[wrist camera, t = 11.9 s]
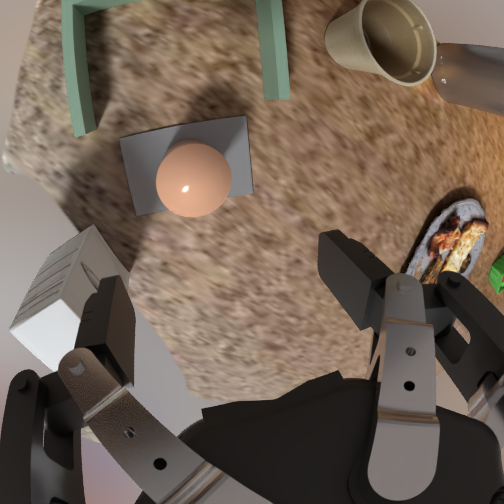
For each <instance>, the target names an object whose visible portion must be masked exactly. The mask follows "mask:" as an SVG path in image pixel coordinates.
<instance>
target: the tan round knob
mask: <svg viewBox="0 0 504 504" xmlns="http://www.w3.org/2000/svg"><path fill="white" fill-rule="evenodd" d="M231 183H232V175H231V170H230V167H229V164H228V162H227V161H226V159H225V158H224V157H223V155H222V154H221V153H220V152H218V151H217V150H216V149H214V148H213V147H211V146H208V145H207V144H205V143H204V142H202V141H200V140H197V139H183V140H180V141H178V142H176V143H174V144H173V145H171V146H170V147H169V148H168V150H167V151H166V152H165V154H164V156H163V159H162V162H161V164H160V166H159V168H158V171H157V177H156V188H157V192H158V195H159V198H160V199H161V201H162V203H163V204H164V205H165V206H166V207H167V208H168V209H169V210H171V211H172V212H174V213H176V214H178V215H181V216H185V217H199V216H203V215H206V214H209V213H211V212H213V211H214V210H216V209H217V208H218V207H219V206H220V205H221V204H222V203H223V202H224V201H225V199H226V198H227V196H228V194H229V191H230V188H231Z"/></svg>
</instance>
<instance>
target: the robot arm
mask: <svg viewBox="0 0 504 504" xmlns="http://www.w3.org/2000/svg"><path fill="white" fill-rule="evenodd" d="M436 49H437V50H436V51H437V54H436V62H435V66H434V69H433V71H432V77H433V81H434V84H435V87H436V89H437V91H438V93H439V94H440V95H441V97H442V98H443V99H444V100H446V101H447V102H449V103H454V104H458V105H462V106H467V107H470V108H474V109H478V110H481V111H485V112H489V113H492V114H495V115H499V116H502V117H504V48H498V47H490V46H481V45H469V44H453V43H442V44H439V45H438V46H437V47H436ZM318 272H319V275H320V277H321V279H322V280H323V282H324V283H325V284H326V285H327V287H328V288H329V289H330V291H331V292H332V293H333V295H334V296H335V297H336V299H337V300H338V301H339V303H340V304H341V305H342V307H343V308H344V309H345V311H346V312H347V313H348V315H349V316H350V317H351V319H352V320H353V321H354V323H355V324H356V325H357V327H358V328H359V329H360V331H361V330H364V329H366V328H369V327H372V329H373V333H372V338H371V346H370V353H369V359H368V366H367V372H366V376H365V379H361V378H345V379H343V377H342V376H341V374H340V372H339V370H337V371H335V372H332V373H329V374H326V375H324V376H321V377H318V378H315V379H312V380H309V381H307V382H305V383H303V384H302V385H300V386H298V387H297V388H295V389H293V390H292V391H290V392H288V393H286V394H285V395H283V396H281V397H279V398H277V399H274V400H260V401H236V402H231V403H227V404H223V405H218V406H213V407H208V408H204V409H201V410H202V415H203V419H201V420H199V421H197V422H195V423H193V424H192V425H190V426H189V427H187V428H186V429H185V430H184V431H182V432H181V433H180V434H179V435H178V436H177V437H176V436H175V435H174V434H172V433H171V432H170V431H169V430H168V429H167V428H166V427H164V425H162V424H161V423H160V422H159V421H158V420H157V419H156V418H155V417H154V416H152V414H151V413H150V412H149V411H148V410H146V409H145V408H144V407H143V406H142V405H141V404H140V403H139V402H138V401H137V400H136V399H135V398H134V397H133V396H132V395H131V394H130V392H129V391H128V390H127V389H126V388H130V387H134V346H135V343H134V342H135V323H136V318H135V312H134V308H133V305H132V302H131V300H130V298H129V295H128V293H127V290H126V288H125V285H124V283H123V280H122V278H121V276H120V275H115V276H110V277H105V278H102V279H101V280H100V283H99V287H98V291H97V293H92V294H91V295H90V297H89V298H88V300H87V301H86V302H85V305H84V308H83V312H82V313H83V314H82V316H81V320H80V321H81V322H80V324H79V328H78V332H77V336H76V341H75V345H74V349H73V350H71V351H69V352H68V353H67V354H65V355H64V356H63V358H62V359H61V361H60V362H59V365H58V370H57V371H55V372H53V373H51V374H48V375H46V376H44V377H41V378H40V377H39V376H38V375H37V373H36V372H35V371H33V370H30V369H28V370H23V371H21V372H19V373H18V374H17V375H16V376H15V377H14V378H13V379H12V381H11V383H10V386H9V391H8V395H7V400H6V405H5V411H4V417H3V423H2V431H1V438H0V504H85V496H84V487H83V475H82V459H81V428H83V427H86V426H89V427H90V429H91V430H92V431H93V433H94V434H95V435H96V437H97V438H98V439H99V441H100V442H101V443H102V445H103V446H104V447H105V448H106V450H107V451H108V452H109V453H110V454H111V456H112V457H113V458H114V459H115V460H116V461H117V463H118V464H119V465H120V466H121V467H122V468H123V470H124V471H125V472H126V473H127V474H128V475H129V476H130V477H131V478H132V479H133V480H134V481H135V483H136V484H137V485H138V486H139V487H140V488H141V489H142V490H143V491H142V492H141V494H140V496H139V497H138V499H137V500H136V502H135V504H504V473H503V469H502V461H501V450H500V449H501V448H502V447H503V446H504V316H503V314H501V312H500V311H499V310H498V309H497V308H496V307H495V306H494V305H493V304H492V303H491V302H490V301H489V300H488V299H487V298H486V297H485V296H484V295H483V294H482V293H481V292H480V291H479V290H478V289H477V288H476V287H475V286H474V285H472V284H471V283H470V282H469V281H468V280H467V279H466V278H465V277H464V276H463V275H461V274H459V273H457V272H454V271H443V272H441V273H440V274H439V275H438V278H437V281H436V283H430V284H421V283H420V282H419V281H418V280H417V279H416V278H415V277H413V276H411V275H408V274H403V273H396V274H395V273H394V272H393V271H391V270H390V269H389V268H388V267H387V266H386V265H385V264H384V263H383V262H382V261H381V260H380V259H379V258H377V257H375V255H374V254H373V253H372V252H371V251H369V249H368V248H366V247H365V246H364V245H363V244H362V243H360V242H358V241H356V240H354V239H351V238H350V239H349V238H348V237H346V236H345V235H344V234H343V233H342V232H341V231H340V230H338V229H336V230H331V231H326V232H322V233H320V235H319V243H318ZM456 318H458V319H459V320H460V321H461V323H462V324H463V325H464V326H465V327H466V328H467V329H468V331H469V333H470V336H471V339H470V343H469V345H468V343H467V342H466V341H465V340H464V338H463V337H462V336H461V335H460V334H459V333H458V331H457V330H456V329H455V328H454V327H453V325H454V322H455V320H456ZM435 357H436V358H437V360H438V361H439V363H440V364H441V365H442V367H443V368H444V369H445V371H446V372H447V374H448V375H449V376H450V378H451V379H452V381H453V382H454V384H455V385H456V387H457V388H458V389H459V391H460V392H461V394H462V395H463V397H464V398H465V400H466V401H467V403H468V411H469V414H468V415H467V416H465V415H462V414H459V413H456V412H454V411H451V410H448V409H445V408H442V407H440V406H436V361H435ZM44 429H45V433H44V448H43V430H44Z"/></svg>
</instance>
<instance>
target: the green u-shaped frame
mask: <svg viewBox="0 0 504 504" xmlns="http://www.w3.org/2000/svg"><path fill="white" fill-rule="evenodd" d="M135 1H140V0H62V10H61V14H62V45H63V59H64V70H65V79H66V88H67V95H68V102H69V108H70V115H71V120H72V126H73V131H74V136H75V138H76V137H79V136H82V135H85V134H87V133H89V132H92V131H94V130H96V129H97V127H96V122H95V116H94V110H93V103H92V97H91V89H90V82H89V73H88V64H87V53H86V39H85V19H84V15H87V14H90V13H93V12H97V11H100V10H103V9H107V8H110V7H114V6H118V5H122V4H126V3H130V2H135ZM255 2H256V12H257V21H258V32H259V42H260V53H261V64H262V75H263V87H264V99H274V100H286V99H290V87H289V73H288V60H287V49H286V38H285V27H284V18H283V8H282V0H255Z"/></svg>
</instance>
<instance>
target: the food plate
mask: <svg viewBox="0 0 504 504" xmlns="http://www.w3.org/2000/svg"><path fill="white" fill-rule="evenodd" d="M446 206H447V204H446ZM448 207H449V208H448V209H447V208H445V209H443V210H442V213H441V215H440V216H439V217H438V216H437V217H435V218H434V220H433V222H432V224H431V226H430V227H429V228H430V229H429V228H428V229H429V230H428V232H427V233H426V234H425V236H424V239H423V240H422V241H421V243H420V244H419V246H417V247H416V251H415V254H414V256H413V258H412V260H411V262H410V263H409V267H408V269H407V271H406V273H405V274H408V275H411V276H414V272H415V270H414V269H416V268H415V264H416V266H417V264H418V262H419V261H420V260H421V259H419V258H422V257H423V259H422V260H421V261H423V263H422V265H421V267H419V268H418V270H420V269H421V268H422V270H423V271H422V273H424V272H425V273H424V274H423V275H422V277H421V279H420V280H419V282H420V283H421V284H430V283H436V281H437V278H438V275H439V274H440V273H441V272H443V271H454V272H457V273H459V274H461V275H463V276H464V277H465V278H467V279H468V277H469V275H470V273H471V272H472V269H473V268H474V265H475V264H474V263H476V262H475V261H476V260H477V257H479V253H480V252H481V249H482V246H483V242H484V238H485V232H486V230H488V225H489V223H488V222H487V221H486V219H485V212H484V209H483V207H482V205H481V204H480V202H479V201H478V200H476V199H475V198H473V197H467V198H464V199H461V200H455V202H453V203H451V204H450V205H449V206H448ZM423 251H424V253H422V252H423ZM420 252H421V253H420ZM423 254H424V255H423ZM419 255H420V256H419ZM424 258H425V259H424ZM417 259H418V260H419V261H418V260H417ZM417 261H418V262H417ZM413 270H414V271H413ZM418 270H417V272H418Z"/></svg>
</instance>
